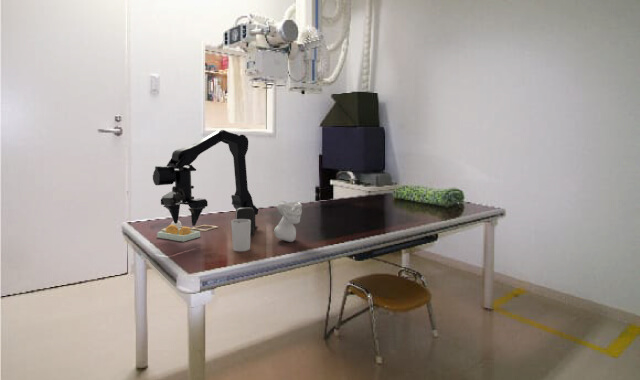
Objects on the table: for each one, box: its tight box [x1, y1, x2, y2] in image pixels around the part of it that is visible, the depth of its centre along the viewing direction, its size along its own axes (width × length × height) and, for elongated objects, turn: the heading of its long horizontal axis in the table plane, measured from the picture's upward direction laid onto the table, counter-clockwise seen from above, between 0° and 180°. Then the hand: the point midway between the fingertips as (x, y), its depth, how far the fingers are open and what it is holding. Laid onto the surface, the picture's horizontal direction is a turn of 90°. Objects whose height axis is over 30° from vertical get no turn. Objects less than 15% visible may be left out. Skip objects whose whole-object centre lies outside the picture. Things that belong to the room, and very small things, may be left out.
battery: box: [235, 207, 255, 237], centre depth 161 cm, size 7×4×11 cm, turn 115°
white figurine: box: [273, 200, 303, 243], centre depth 152 cm, size 10×11×15 cm
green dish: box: [156, 228, 201, 242], centre depth 157 cm, size 14×9×2 cm, turn 62°
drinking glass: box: [230, 218, 251, 252], centre depth 142 cm, size 7×7×10 cm
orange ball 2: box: [179, 226, 191, 235], centre depth 156 cm, size 4×4×4 cm
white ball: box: [170, 220, 183, 229], centre depth 170 cm, size 4×4×4 cm
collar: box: [190, 224, 219, 232], centre depth 172 cm, size 8×8×1 cm
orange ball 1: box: [165, 224, 178, 234], centre depth 159 cm, size 4×4×4 cm
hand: (184, 224), depth 155 cm, fingers open, 9 cm apart
